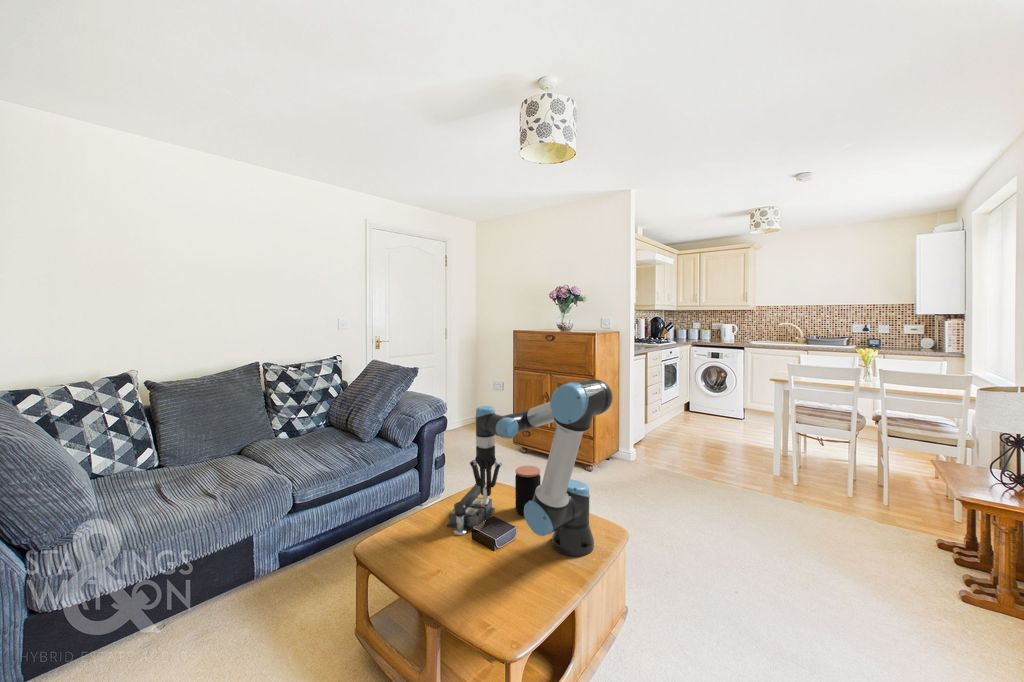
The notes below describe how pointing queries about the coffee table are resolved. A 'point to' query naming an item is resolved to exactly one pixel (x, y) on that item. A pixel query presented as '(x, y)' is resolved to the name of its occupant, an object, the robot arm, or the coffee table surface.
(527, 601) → the coffee table surface
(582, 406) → the robot arm
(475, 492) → the swing arm
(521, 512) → the coffee jar
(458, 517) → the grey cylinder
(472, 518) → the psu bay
